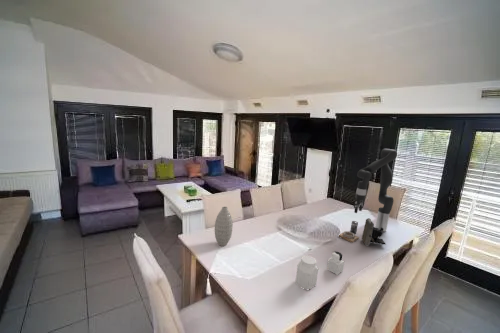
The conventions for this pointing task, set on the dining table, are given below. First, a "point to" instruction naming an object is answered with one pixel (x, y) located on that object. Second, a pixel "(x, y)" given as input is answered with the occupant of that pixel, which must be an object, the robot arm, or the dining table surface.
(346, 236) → the mount
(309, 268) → the jar
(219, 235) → the vase
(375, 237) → the vintage camera
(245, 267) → the dining table surface
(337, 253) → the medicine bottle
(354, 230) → the lens
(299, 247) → the dining table surface
